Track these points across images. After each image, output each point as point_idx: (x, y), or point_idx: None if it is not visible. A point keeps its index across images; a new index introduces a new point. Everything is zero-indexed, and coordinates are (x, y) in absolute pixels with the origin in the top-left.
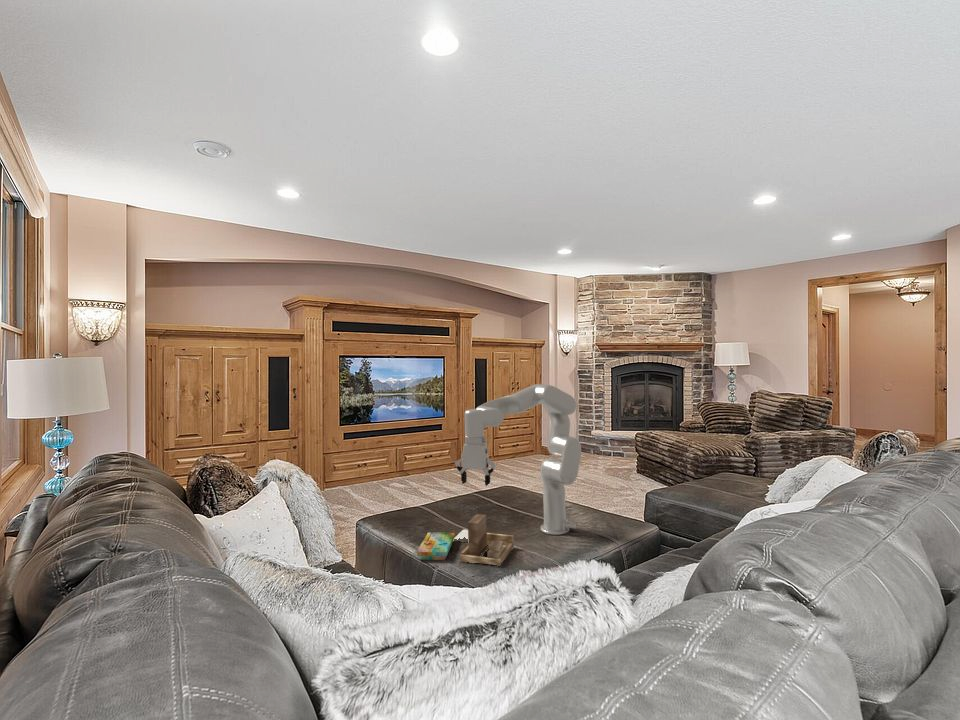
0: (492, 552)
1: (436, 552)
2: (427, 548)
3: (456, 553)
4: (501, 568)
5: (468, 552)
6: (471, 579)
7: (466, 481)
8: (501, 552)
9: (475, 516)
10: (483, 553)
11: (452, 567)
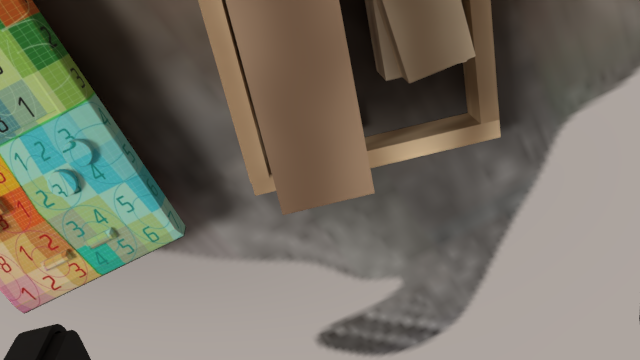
0: None
1: (128, 261)
2: (50, 269)
3: (162, 100)
4: None
5: (248, 94)
6: (416, 293)
7: (77, 341)
8: None
9: (251, 45)
10: None
11: (264, 249)
